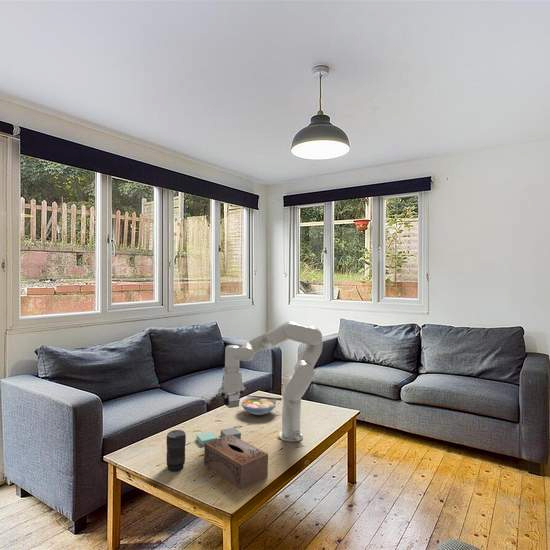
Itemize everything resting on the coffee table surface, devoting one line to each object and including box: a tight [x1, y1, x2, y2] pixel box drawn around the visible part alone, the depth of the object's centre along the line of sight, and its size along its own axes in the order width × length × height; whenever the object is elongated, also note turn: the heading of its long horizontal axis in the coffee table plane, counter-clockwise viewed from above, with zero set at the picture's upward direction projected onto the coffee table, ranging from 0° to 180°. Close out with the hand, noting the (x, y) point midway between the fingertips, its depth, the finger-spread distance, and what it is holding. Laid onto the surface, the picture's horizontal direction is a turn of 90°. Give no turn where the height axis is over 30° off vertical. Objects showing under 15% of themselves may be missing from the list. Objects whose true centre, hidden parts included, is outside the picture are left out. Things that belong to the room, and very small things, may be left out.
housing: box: [226, 392, 240, 409], centre depth 201 cm, size 7×6×6 cm
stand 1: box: [196, 431, 218, 447], centre depth 195 cm, size 8×8×2 cm
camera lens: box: [166, 429, 187, 472], centre depth 168 cm, size 8×8×15 cm
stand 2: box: [220, 427, 242, 439], centre depth 201 cm, size 8×8×2 cm
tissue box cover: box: [203, 434, 269, 490], centre depth 167 cm, size 26×14×10 cm, turn 45°
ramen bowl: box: [239, 394, 283, 416], centre depth 234 cm, size 25×23×8 cm
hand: (231, 403), depth 201 cm, fingers closed on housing, 5 cm apart
